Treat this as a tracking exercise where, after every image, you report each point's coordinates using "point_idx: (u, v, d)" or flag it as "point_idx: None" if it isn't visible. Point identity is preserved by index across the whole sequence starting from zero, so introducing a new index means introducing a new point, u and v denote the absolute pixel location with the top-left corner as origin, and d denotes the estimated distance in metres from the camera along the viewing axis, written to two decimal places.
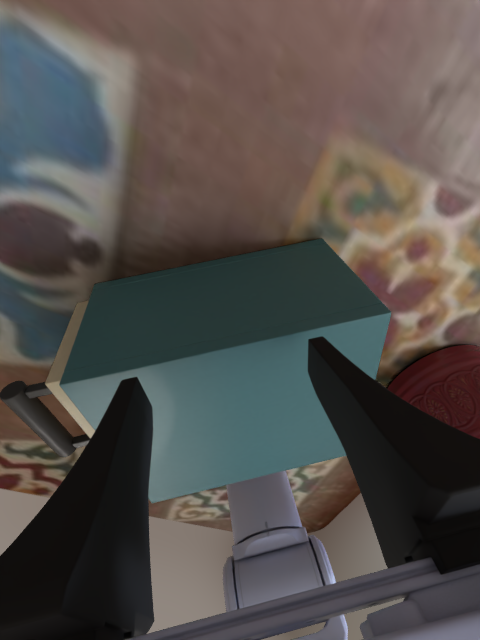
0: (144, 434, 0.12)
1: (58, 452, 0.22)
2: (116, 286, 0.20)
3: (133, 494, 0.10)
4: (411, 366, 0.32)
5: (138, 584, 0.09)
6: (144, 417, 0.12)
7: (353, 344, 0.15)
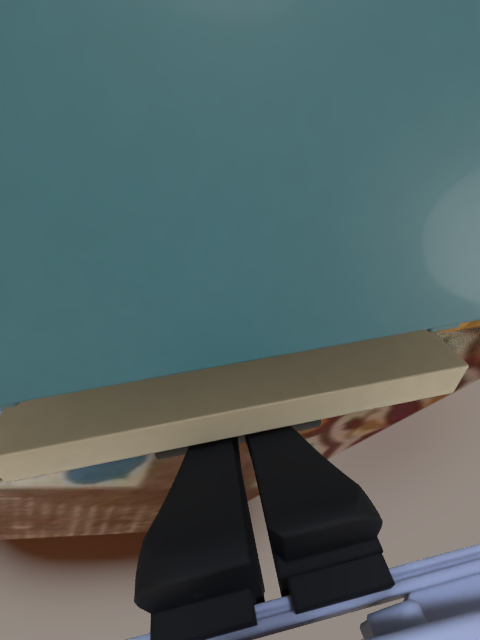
0: None
1: (304, 429, 0.13)
2: None
3: (239, 468, 0.10)
4: None
5: (256, 553, 0.09)
6: None
7: None
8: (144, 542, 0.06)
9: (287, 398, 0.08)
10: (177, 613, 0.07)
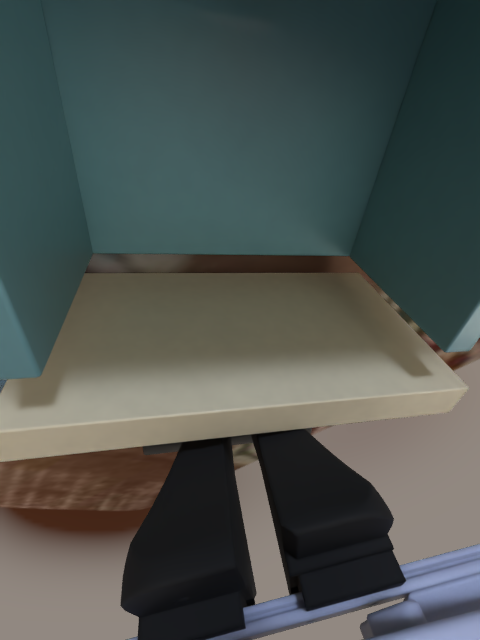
0: None
1: None
2: None
3: (231, 470, 0.10)
4: None
5: (247, 556, 0.09)
6: None
7: None
8: (131, 545, 0.06)
9: (306, 400, 0.08)
10: (165, 616, 0.07)
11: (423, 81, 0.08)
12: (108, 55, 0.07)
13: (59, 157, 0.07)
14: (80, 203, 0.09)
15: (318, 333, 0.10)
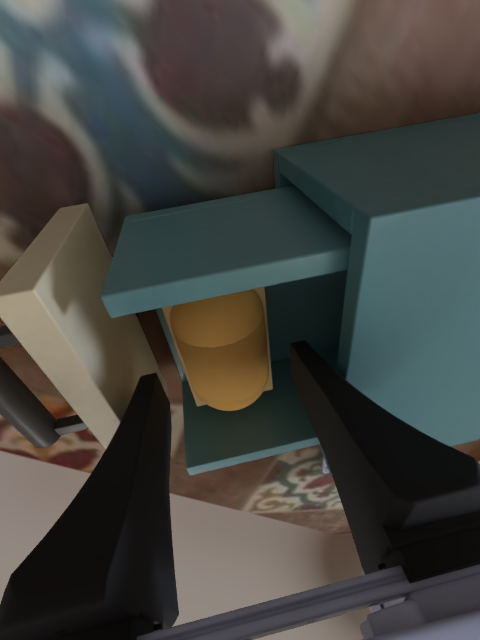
0: (164, 429, 0.12)
1: (33, 441, 0.15)
2: (315, 146, 0.13)
3: (157, 488, 0.10)
4: None
5: (164, 577, 0.09)
6: (163, 412, 0.12)
7: None
8: (11, 576, 0.06)
9: None
10: None
11: (271, 369, 0.19)
12: None
13: None
14: None
15: None
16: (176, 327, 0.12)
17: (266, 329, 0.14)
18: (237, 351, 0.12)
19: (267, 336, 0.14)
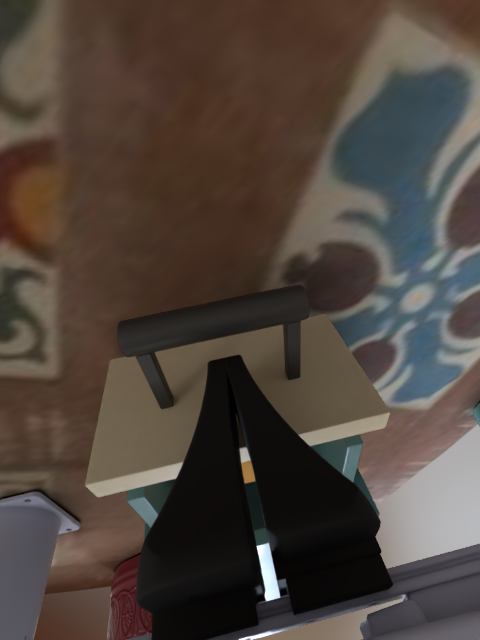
0: (234, 413, 0.12)
1: (141, 345, 0.11)
2: None
3: (240, 468, 0.10)
4: None
5: (257, 553, 0.09)
6: (232, 396, 0.12)
7: None
8: (146, 542, 0.06)
9: None
10: (178, 613, 0.07)
11: None
12: None
13: None
14: None
15: None
16: None
17: None
18: None
19: None
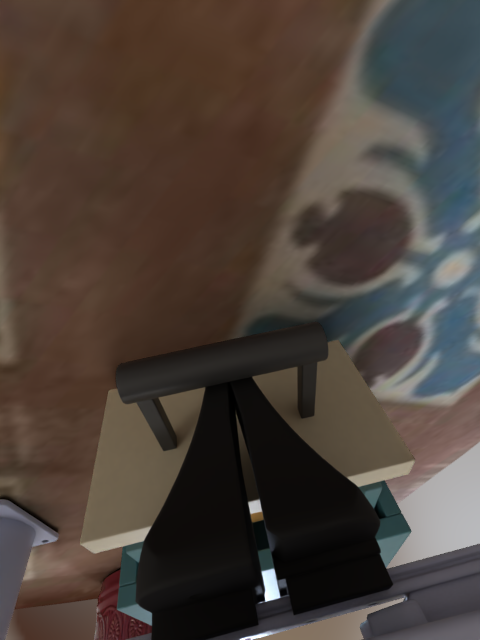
0: (234, 413, 0.12)
1: (142, 392, 0.10)
2: None
3: (240, 468, 0.10)
4: None
5: (256, 553, 0.09)
6: (232, 397, 0.12)
7: None
8: (145, 542, 0.06)
9: None
10: (178, 613, 0.07)
11: None
12: None
13: None
14: None
15: None
16: None
17: None
18: None
19: None
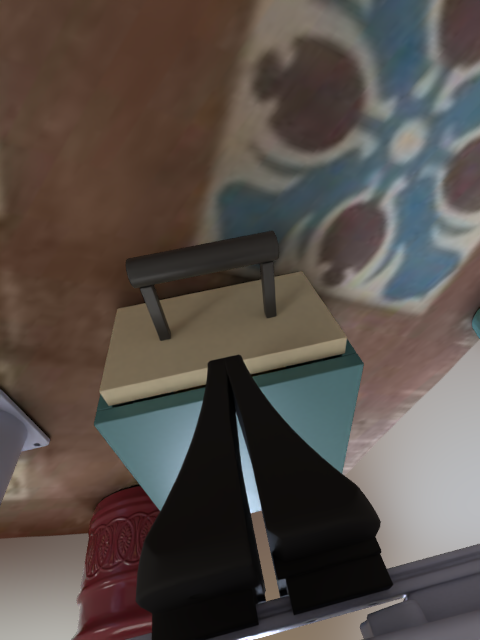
0: (234, 413, 0.12)
1: (144, 275, 0.14)
2: None
3: (240, 468, 0.10)
4: None
5: (257, 553, 0.09)
6: (232, 397, 0.12)
7: None
8: (146, 542, 0.06)
9: None
10: (179, 613, 0.07)
11: None
12: None
13: None
14: None
15: None
16: (266, 371, 0.19)
17: None
18: None
19: None
